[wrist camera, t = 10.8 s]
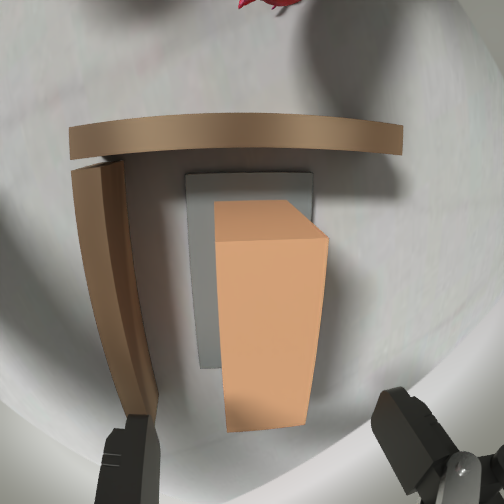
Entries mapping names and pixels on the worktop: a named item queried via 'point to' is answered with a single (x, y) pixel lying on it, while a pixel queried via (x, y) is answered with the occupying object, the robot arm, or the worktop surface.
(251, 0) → the decorative bird figurine
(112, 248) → the walnut corner
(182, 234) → the worktop surface
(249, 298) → the terracotta block
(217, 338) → the slate pad
